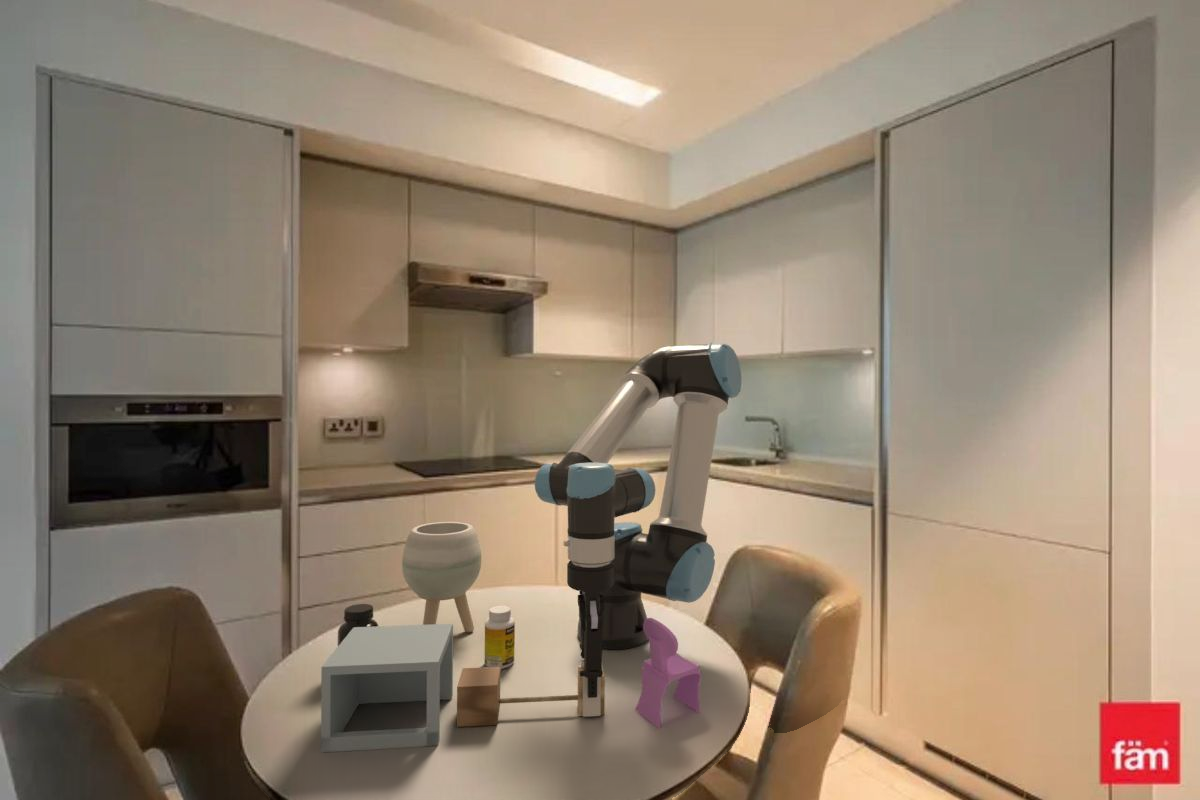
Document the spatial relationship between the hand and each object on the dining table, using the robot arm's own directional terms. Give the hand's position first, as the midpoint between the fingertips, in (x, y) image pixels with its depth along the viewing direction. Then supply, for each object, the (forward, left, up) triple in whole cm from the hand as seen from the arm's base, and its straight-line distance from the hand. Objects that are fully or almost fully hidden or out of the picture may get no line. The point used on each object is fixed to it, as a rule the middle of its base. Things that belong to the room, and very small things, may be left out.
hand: (590, 707), depth 91 cm
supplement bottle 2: (+16, -18, -1) cm, 24 cm away
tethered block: (+9, 0, 0) cm, 9 cm away
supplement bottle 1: (+41, -16, -1) cm, 44 cm away
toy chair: (-12, +1, -1) cm, 13 cm away
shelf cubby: (+31, 0, 0) cm, 31 cm away
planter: (+29, -33, -1) cm, 44 cm away
